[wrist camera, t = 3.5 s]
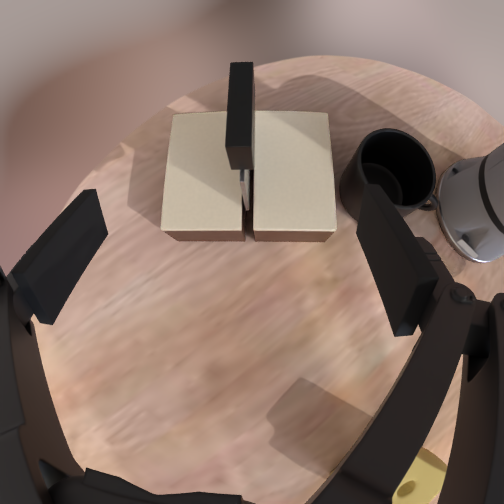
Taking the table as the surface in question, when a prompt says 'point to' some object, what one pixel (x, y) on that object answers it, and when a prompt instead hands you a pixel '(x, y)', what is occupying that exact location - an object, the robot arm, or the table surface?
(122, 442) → the table surface
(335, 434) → the table surface
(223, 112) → the split beige slab
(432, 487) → the cheese
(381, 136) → the mug
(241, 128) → the dough scraper
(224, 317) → the table surface
